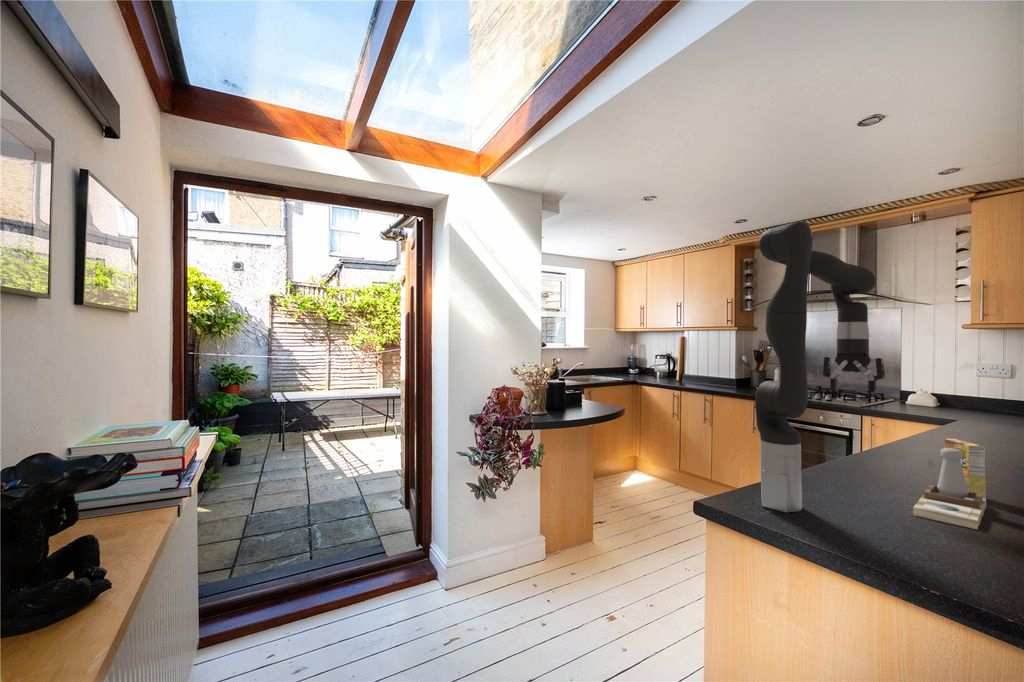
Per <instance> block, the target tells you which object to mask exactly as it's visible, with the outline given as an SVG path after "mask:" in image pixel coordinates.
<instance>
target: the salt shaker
mask: <svg viewBox="0 0 1024 682" xmlns="http://www.w3.org/2000/svg"><path fill="white" fill-rule="evenodd" d="M939 454H940V457H942V458H943V459H942V464H941V467H940V472H939V478H938V480H937V481H938V482H937V485H936V486H937V487H938V490H939V492H940V494H941V495H946V496H951V497H957V498H962V499H965V497H966V496H967V495H968V493H969V491H968V487H967V484H966V480H965V477H964V473H963V469H962V465H961V461H960V459H963V458H964V454H963V452H962V451H961V450H958V449H953V448H944V447H943V448H941V449H940V453H939Z"/></svg>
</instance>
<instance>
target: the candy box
mask: <svg viewBox="0 0 1024 682" xmlns="http://www.w3.org/2000/svg"><path fill="white" fill-rule="evenodd" d="M943 442H944V444H943V445H944V446H943V448H953V449H958V450H961V451H962V452H963V454H964V458H963V459H960V461H961V465H962V469H963V473H964V477H965V480H966V484H967V487H968V491H970V492H976V493H981V494H983V499H986V496H987V495H986V493H987V491H986V489H987V488H986V484H987V483H986V478H987V477H986V446H985V445H983V444H978V443H976V442H975V443H974V442H970V441H966V440H963V439H958V438H944V439H943ZM986 500H987V499H986Z"/></svg>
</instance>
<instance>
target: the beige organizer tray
mask: <svg viewBox="0 0 1024 682" xmlns="http://www.w3.org/2000/svg"><path fill="white" fill-rule="evenodd" d="M986 508H987V499H983V494H981V493H976V492H970V491H969V493H968V495H967V496H966V497H965V499H962V498H957V497H951V496H946V495H941V494H940V492H939V490H938V487H937V485H935V484H929V485H928V486H927V488H926V489H924V491H923V495H922V496H921V497H920V498H919V500H918V501H917V502H916V503H915V504H914V506H913V507H912V515H913V516H915V517H919V518H922V519H923V518H924V519H928V520H932V521H937V522H942V523H946V524H951V525H956V526H959V527H960V526H961V527H964V528H969V529H974V530H978V529H979V527H980V524H981V522H982V518H983V517H984V514H985V511H986Z"/></svg>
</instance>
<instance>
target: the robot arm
mask: <svg viewBox="0 0 1024 682" xmlns="http://www.w3.org/2000/svg"><path fill="white" fill-rule="evenodd" d="M758 245H759V246H758V247H759V251H760V253H761V255H762V256H763V257H764V258H765V259H767V260H768V261H771V262H773V263H777V264H781V265H784V266H785V270H784V275H783V277H782V280H781V282H780V284H779V285H778V287H777V288H776V289H775V291H774V293H773V294H772V296H771V298H770V299H769V301H768V303H767V306H766V308H765V309H766V310H765V311H766V312H765V334H766V337H767V340H768V342H769V344H770V346H771V347H772V350H773V351H774V353H775V355H776V357H777V360H778V363H779V380H766V381H763V382H761V383H760V384H759V385H758V387H757V388H756V391H755V396H754V397H755V398H754V399H755V400H754V402H755V417H756V427H757V430H758V432H759V437H760V439H759V441H760V489H761V490H760V492H761V493H760V494H761V495H760V496H761V506H762V507H764V508H768V509H772V510H774V511H775V510H776V511H779V512H783V513H787V514H788V513H790V512H792V513H793V512H801V511H802V509H803V501H802V500H803V492H802V444H801V443H802V436H801V433H800V432H799V431H798V430H797V429H796V428H794V427H793V426H792V425H791V424H790V423H789V421H788V420H787V418H789V419H798V418H799V417H802V415H804V413H805V412H806V410H807V407H808V404H809V387H808V377H807V376H808V375H807V366H806V365H807V364H806V363H807V362H806V361H807V360H806V349H807V348H806V343H807V342H806V335H807V321H808V320H807V319H808V318H807V317H808V315H807V314H808V310H807V309H808V305H807V304H808V303H807V302H808V285H809V283H808V281H809V275H811V276H813V277H816V278H817V279H818V280H820V281H822V282H824V283H825V284H828V285H829V286H830V291H831V293H832V296H833V298H834V302H835V305H836V309H837V327H836V356H835V357H832V356H825V357H823V365H822V366H823V367H822V369H823V370H822V375H823V377H827V378H829V379H830V380H829V381H830V382H829V383H830V385H829V386H830V389H831V390H832V392H838V390H839V386H838V385H839V379H838V377H840V375H841V374H842V373H843V372H846V373H850V372H853V373H861V372H862V374H863V375H865V377H867V379H868V383H867V384H868V385H867V386H868V388H867V389H868V390H867V391H868V392H867V394H868V395H874V393H876V391H877V381H878V380H883V379H885V377H886V374H885V365H884V364H885V363H884V362H885V361H884V359H883V357H877V358H871V356H870V331H869V330H870V329H869V323H868V322H869V317H868V316H869V313H868V311H869V310H868V304H867V303H865V302H859V301H853V300H852V298H851V295H860V294H862V295H863V294H866V293H869V292H871V291H872V290H873V289H874V288H875V286H876V285H877V284H876V283H877V279H876V276H875V274H874V273H873V271H871V270H870V269H868V268H867V267H863V266H860V265H856V264H853V263H846V262H845V261H844V260H842V259H840V258H838V257H836V256H835V255H833V254H830V253H827V252H824V251H817V250H813V233H812V229H811V227H810V225H809V224H808V223H807V222H804V221H802V220H801V221H795V222H791V223H787V224H783V225H779V226H775V227H771V228H770V229H769V228H768V229H767V230H765V231H764V232H763V233H762V234H761V235H760V237H759V243H758ZM834 362H835V363H836V365H837V367H836V368H835V370H833V372H832V373H831V371H832V369H831V366H832V365H834ZM871 363H872V364H873V366H875V368H876V375H875V374H874V373H873V372H872V370H871V369H870V368H869V367H868V366H869V365H870V364H871Z"/></svg>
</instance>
